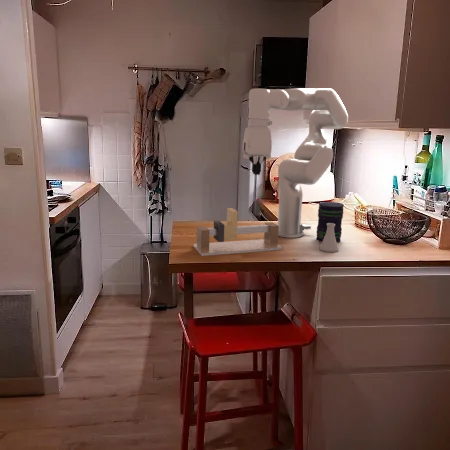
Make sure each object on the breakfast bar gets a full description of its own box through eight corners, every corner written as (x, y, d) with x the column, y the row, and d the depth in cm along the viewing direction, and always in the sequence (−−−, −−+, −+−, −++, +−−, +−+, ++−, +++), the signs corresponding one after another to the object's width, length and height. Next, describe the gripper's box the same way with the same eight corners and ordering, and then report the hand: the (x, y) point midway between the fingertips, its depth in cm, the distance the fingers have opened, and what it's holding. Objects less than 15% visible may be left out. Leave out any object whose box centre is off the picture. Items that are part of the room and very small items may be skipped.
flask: (335, 253, 162) (337, 227, 160) (316, 250, 166) (318, 224, 163) (341, 249, 168) (343, 223, 166) (323, 245, 172) (325, 220, 169)
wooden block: (231, 235, 167) (232, 208, 164) (236, 239, 161) (237, 211, 159) (218, 236, 165) (219, 208, 163) (223, 240, 160) (224, 211, 157)
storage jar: (334, 236, 186) (337, 201, 182) (345, 242, 176) (348, 206, 173) (312, 237, 184) (314, 201, 180) (321, 243, 174) (324, 206, 171)
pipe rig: (269, 241, 176) (270, 220, 174) (282, 249, 165) (283, 227, 163) (193, 246, 166) (193, 224, 164) (201, 256, 155) (202, 232, 153)
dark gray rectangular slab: (218, 237, 166) (218, 220, 164) (223, 241, 160) (224, 224, 158) (213, 237, 165) (213, 220, 164) (218, 242, 159) (219, 224, 158)
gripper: (272, 124, 167) (270, 172, 171) (235, 123, 162) (234, 173, 167) (281, 124, 160) (278, 175, 164) (242, 123, 155) (241, 176, 160)
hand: (256, 174), depth 165 cm, fingers closed
